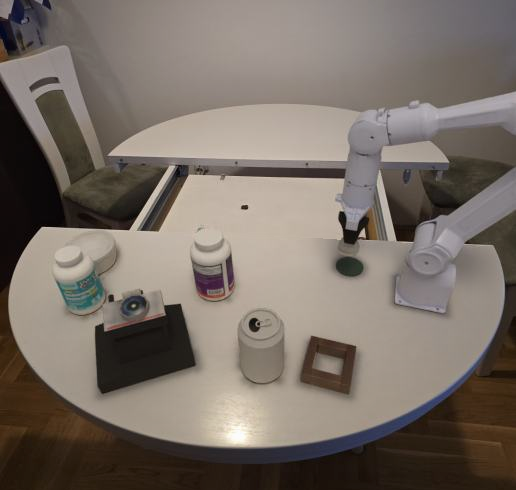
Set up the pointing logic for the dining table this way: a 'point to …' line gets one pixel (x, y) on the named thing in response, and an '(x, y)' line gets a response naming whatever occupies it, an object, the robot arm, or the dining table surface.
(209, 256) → the pill bottle
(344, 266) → the coaster
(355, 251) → the rook chess piece
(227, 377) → the dining table surface
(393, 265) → the dining table surface
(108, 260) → the ramekin
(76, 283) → the pill bottle
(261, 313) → the can
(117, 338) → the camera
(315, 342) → the holder
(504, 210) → the robot arm
